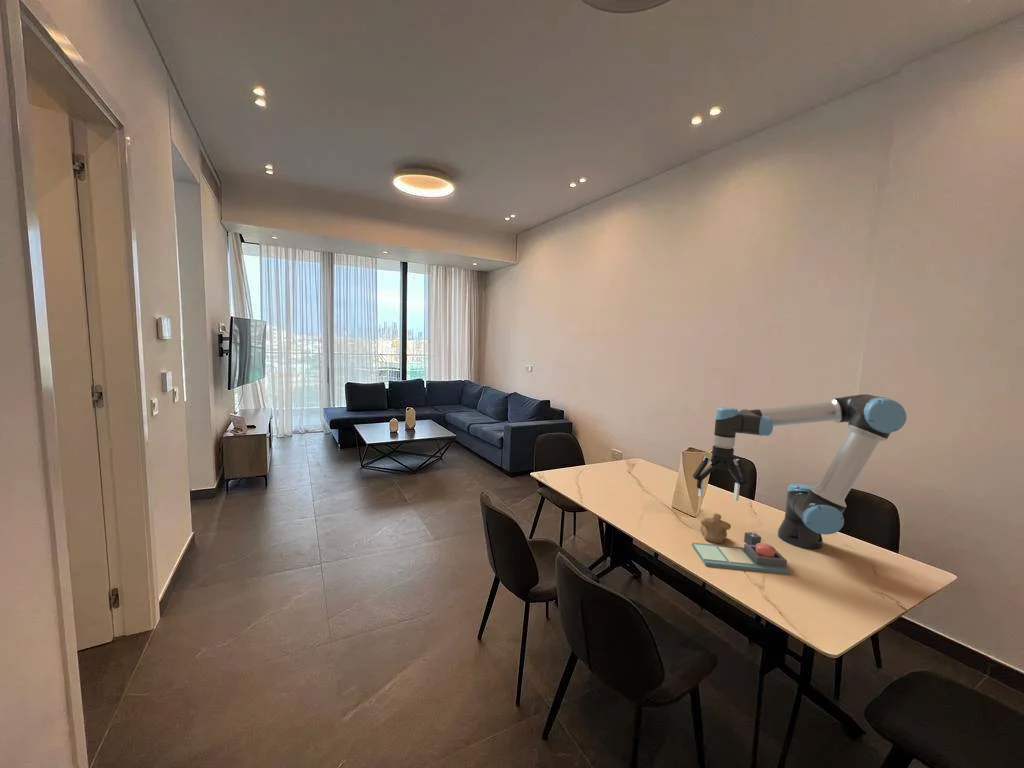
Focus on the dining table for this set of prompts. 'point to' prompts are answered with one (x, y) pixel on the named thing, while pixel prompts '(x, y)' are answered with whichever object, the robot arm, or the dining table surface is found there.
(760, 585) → the dining table surface
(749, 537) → the die
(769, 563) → the board
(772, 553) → the dome button
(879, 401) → the robot arm
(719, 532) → the figurine
